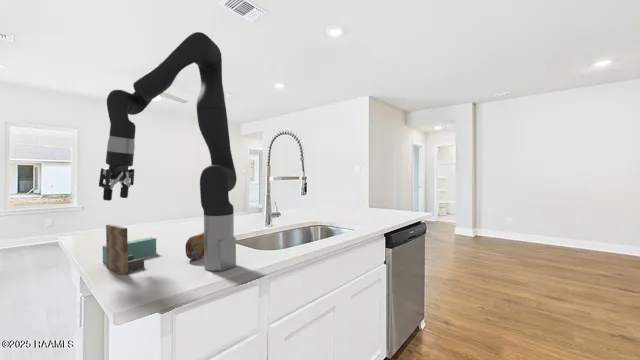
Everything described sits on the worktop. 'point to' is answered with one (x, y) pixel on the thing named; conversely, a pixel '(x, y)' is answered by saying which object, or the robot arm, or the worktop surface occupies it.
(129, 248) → the rail
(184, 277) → the worktop surface
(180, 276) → the worktop surface
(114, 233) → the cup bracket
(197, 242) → the tin
